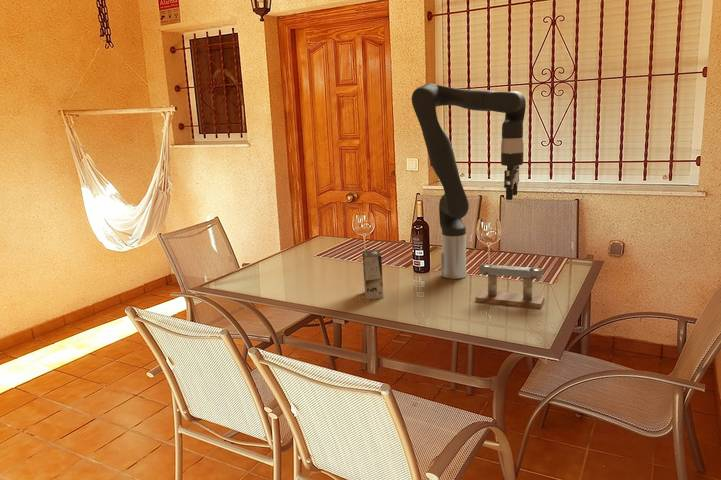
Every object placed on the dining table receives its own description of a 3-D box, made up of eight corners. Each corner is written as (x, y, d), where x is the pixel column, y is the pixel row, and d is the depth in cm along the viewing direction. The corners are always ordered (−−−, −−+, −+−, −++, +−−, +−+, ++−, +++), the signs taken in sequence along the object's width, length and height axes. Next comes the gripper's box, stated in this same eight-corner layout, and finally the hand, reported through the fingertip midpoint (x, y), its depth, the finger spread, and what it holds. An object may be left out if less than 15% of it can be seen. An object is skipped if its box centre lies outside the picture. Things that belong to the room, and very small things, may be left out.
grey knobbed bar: (477, 273, 203) (477, 267, 202) (480, 270, 207) (480, 263, 206) (541, 279, 194) (541, 272, 193) (543, 275, 198) (543, 268, 197)
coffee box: (383, 298, 212) (382, 255, 208) (366, 299, 211) (364, 257, 207) (380, 290, 221) (378, 249, 217) (363, 291, 220) (361, 250, 216)
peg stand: (475, 301, 204) (475, 275, 202) (480, 293, 211) (480, 268, 209) (540, 308, 195) (541, 281, 192) (544, 300, 202) (544, 273, 199)
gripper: (505, 148, 210) (505, 193, 214) (496, 153, 197) (496, 200, 201) (526, 148, 206) (526, 194, 210) (519, 153, 194) (518, 201, 198)
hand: (511, 197), depth 206 cm, fingers open, 8 cm apart
